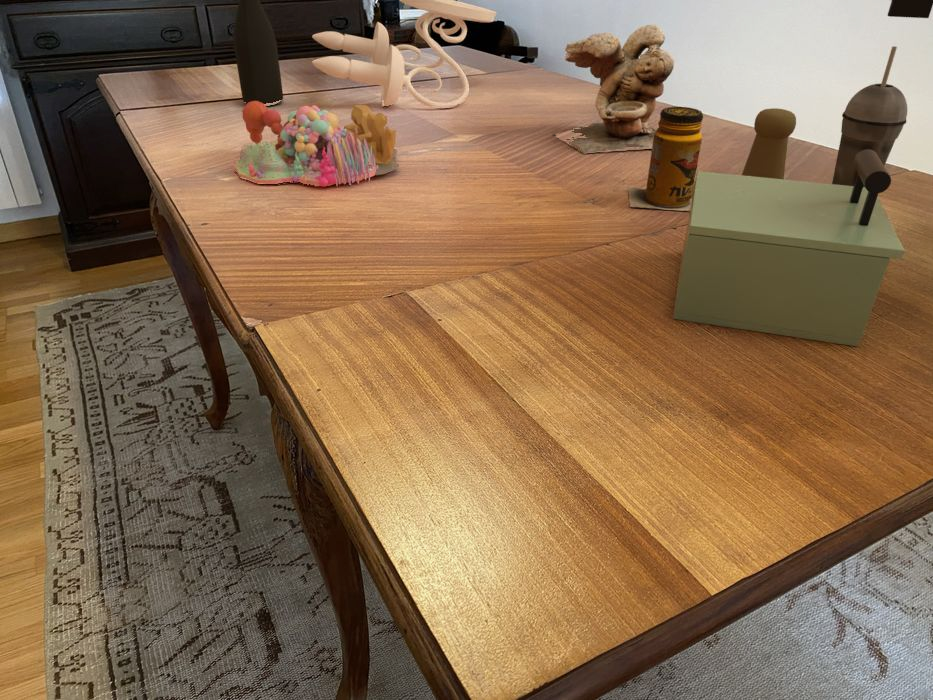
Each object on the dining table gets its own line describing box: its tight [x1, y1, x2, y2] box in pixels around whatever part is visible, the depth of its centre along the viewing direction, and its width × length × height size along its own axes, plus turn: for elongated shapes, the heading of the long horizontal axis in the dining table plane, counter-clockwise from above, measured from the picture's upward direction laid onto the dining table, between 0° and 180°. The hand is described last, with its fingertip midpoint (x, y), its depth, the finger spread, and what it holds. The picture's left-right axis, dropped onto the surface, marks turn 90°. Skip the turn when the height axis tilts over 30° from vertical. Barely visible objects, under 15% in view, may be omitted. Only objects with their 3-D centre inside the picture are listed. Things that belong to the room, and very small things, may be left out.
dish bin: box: [672, 180, 891, 348], centre depth 70 cm, size 16×16×9 cm
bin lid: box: [689, 149, 906, 260], centre depth 66 cm, size 17×16×6 cm
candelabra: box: [311, 0, 498, 107], centre depth 150 cm, size 20×45×37 cm
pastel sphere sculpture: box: [233, 101, 400, 188], centre depth 106 cm, size 25×24×9 cm
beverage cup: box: [831, 45, 908, 187], centre depth 89 cm, size 7×7×20 cm
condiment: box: [627, 106, 704, 212], centre depth 93 cm, size 7×8×12 cm
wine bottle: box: [233, 0, 284, 104], centre depth 134 cm, size 8×8×30 cm
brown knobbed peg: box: [741, 107, 797, 180], centre depth 97 cm, size 6×6×11 cm
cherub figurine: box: [564, 24, 675, 154], centre depth 117 cm, size 18×18×18 cm
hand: (892, 7), depth 59 cm, fingers open, 13 cm apart
